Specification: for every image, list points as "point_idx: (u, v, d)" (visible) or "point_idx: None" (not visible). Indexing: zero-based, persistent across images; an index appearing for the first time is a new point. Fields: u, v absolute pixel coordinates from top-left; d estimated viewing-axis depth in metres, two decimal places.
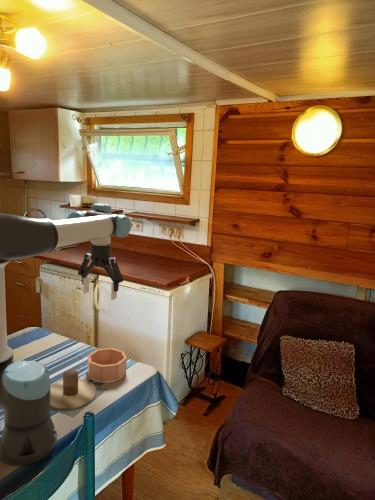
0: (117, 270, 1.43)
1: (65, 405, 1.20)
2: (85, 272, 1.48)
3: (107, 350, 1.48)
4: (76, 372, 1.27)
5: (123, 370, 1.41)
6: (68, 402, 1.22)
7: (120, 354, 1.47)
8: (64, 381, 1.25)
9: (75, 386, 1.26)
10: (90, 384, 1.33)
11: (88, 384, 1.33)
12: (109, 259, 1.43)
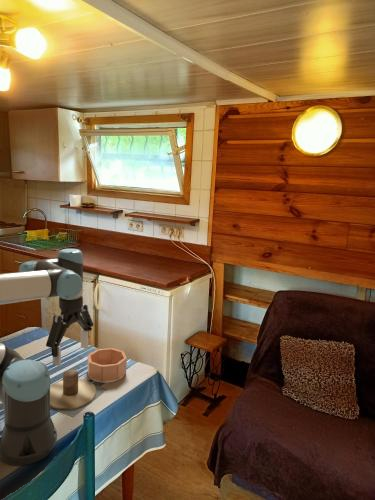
0: (52, 331, 1.16)
1: (65, 405, 1.20)
2: None
3: (107, 350, 1.48)
4: (76, 372, 1.27)
5: (123, 370, 1.41)
6: (68, 402, 1.22)
7: (120, 354, 1.47)
8: (64, 381, 1.25)
9: (75, 386, 1.26)
10: (90, 384, 1.33)
11: (88, 384, 1.33)
12: None
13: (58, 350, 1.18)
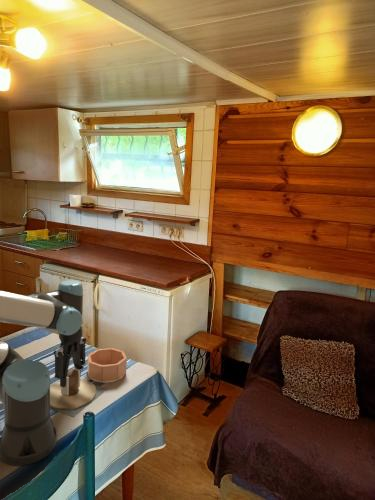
0: (57, 365, 1.20)
1: (65, 405, 1.20)
2: None
3: (107, 350, 1.48)
4: (76, 372, 1.27)
5: (123, 370, 1.41)
6: (68, 402, 1.22)
7: (120, 354, 1.47)
8: None
9: (75, 386, 1.26)
10: (90, 384, 1.33)
11: (88, 384, 1.33)
12: None
13: (66, 381, 1.23)
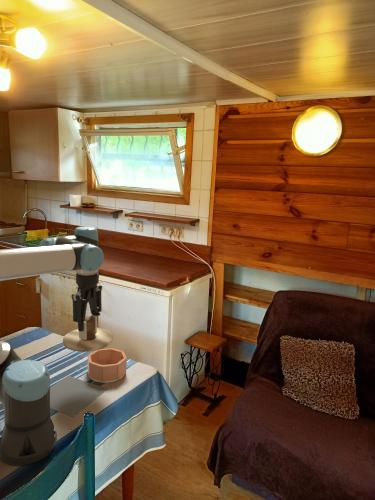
0: (75, 309, 1.23)
1: (84, 347, 1.24)
2: None
3: (107, 350, 1.48)
4: (93, 318, 1.30)
5: (123, 370, 1.41)
6: (86, 345, 1.25)
7: (120, 354, 1.47)
8: None
9: (92, 331, 1.29)
10: (106, 331, 1.36)
11: (104, 331, 1.36)
12: None
13: (84, 325, 1.26)
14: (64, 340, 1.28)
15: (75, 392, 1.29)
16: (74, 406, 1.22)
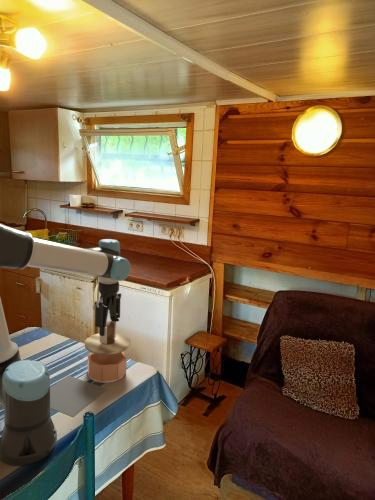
0: (97, 315, 1.33)
1: (105, 351, 1.34)
2: None
3: None
4: (113, 323, 1.40)
5: (123, 370, 1.41)
6: (107, 349, 1.35)
7: (120, 354, 1.47)
8: None
9: (112, 336, 1.39)
10: (124, 336, 1.46)
11: (122, 336, 1.46)
12: None
13: (105, 330, 1.37)
14: (86, 344, 1.38)
15: (75, 392, 1.29)
16: (74, 406, 1.22)
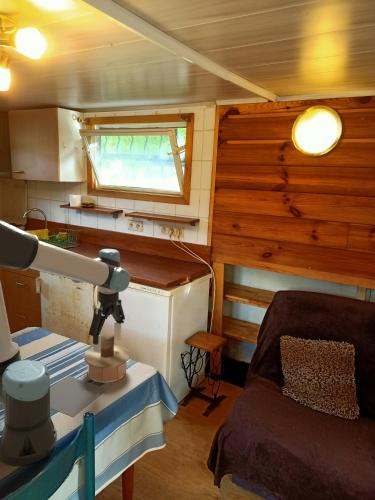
0: (94, 322, 1.32)
1: (104, 364, 1.34)
2: None
3: None
4: (112, 336, 1.41)
5: (123, 370, 1.41)
6: (106, 362, 1.36)
7: None
8: (102, 344, 1.39)
9: (111, 349, 1.40)
10: (123, 348, 1.47)
11: (121, 348, 1.47)
12: None
13: (98, 339, 1.34)
14: (85, 357, 1.39)
15: (75, 392, 1.29)
16: (74, 406, 1.22)
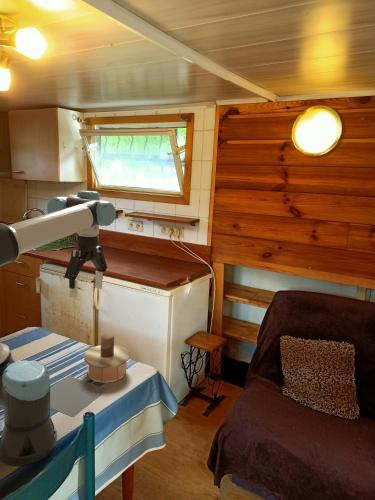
0: (70, 264, 1.26)
1: (104, 364, 1.34)
2: None
3: None
4: (112, 336, 1.41)
5: (123, 370, 1.41)
6: (106, 362, 1.36)
7: None
8: (102, 344, 1.39)
9: (111, 349, 1.40)
10: (123, 348, 1.47)
11: (121, 348, 1.47)
12: None
13: (75, 283, 1.27)
14: (85, 357, 1.39)
15: (75, 392, 1.29)
16: (74, 406, 1.22)
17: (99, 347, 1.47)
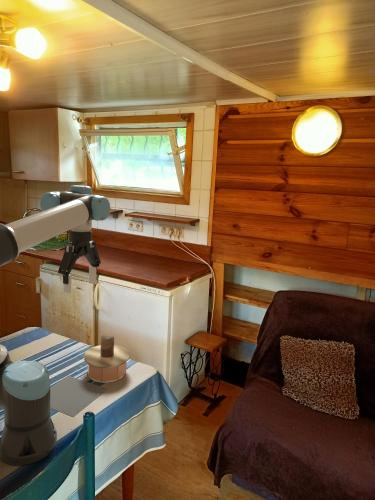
0: (64, 260, 1.25)
1: (104, 364, 1.34)
2: None
3: None
4: (112, 336, 1.41)
5: (123, 370, 1.41)
6: (106, 362, 1.36)
7: None
8: (102, 344, 1.39)
9: (111, 349, 1.40)
10: (123, 348, 1.47)
11: (121, 348, 1.47)
12: None
13: (69, 278, 1.27)
14: (85, 357, 1.39)
15: (75, 392, 1.29)
16: (74, 406, 1.22)
17: (99, 347, 1.47)
